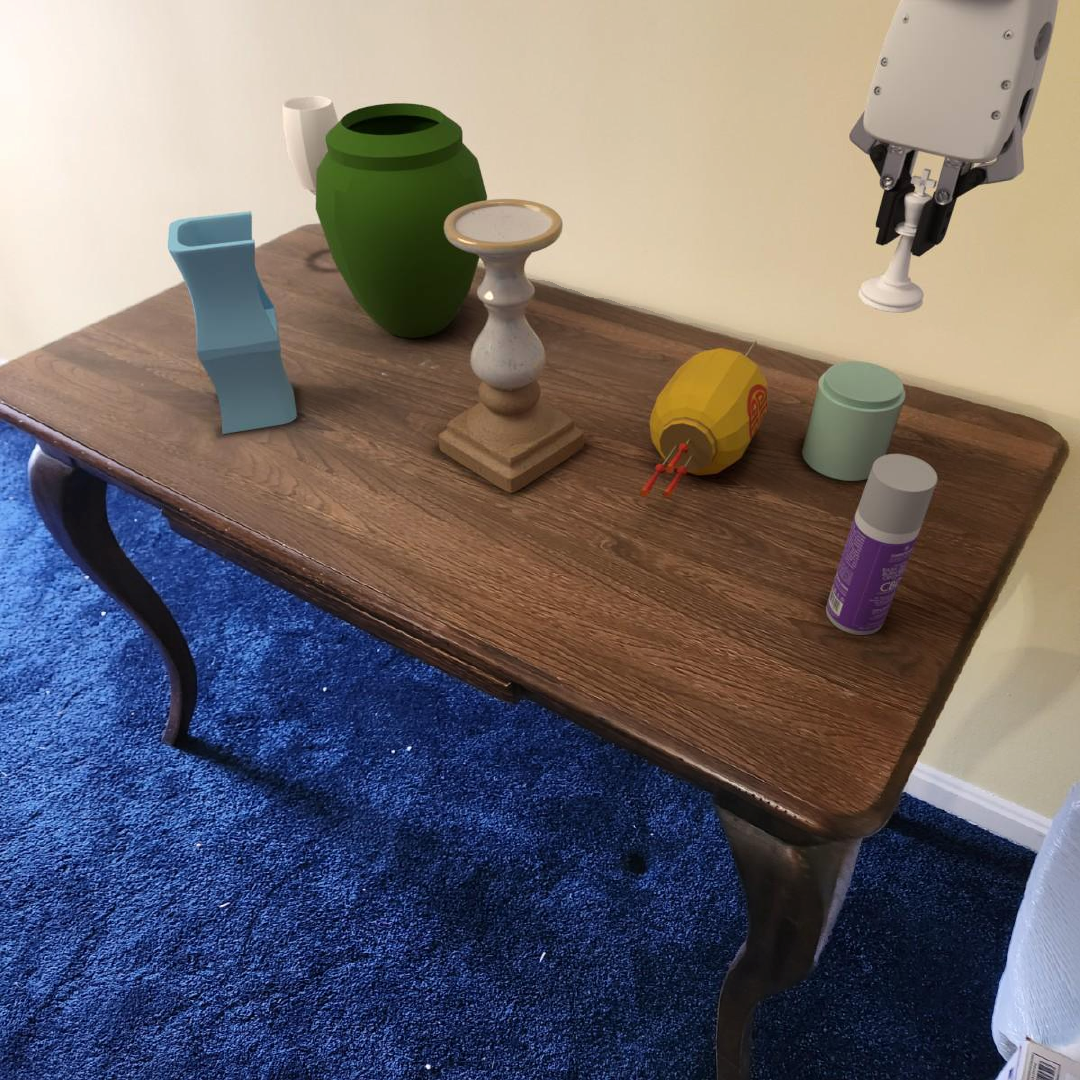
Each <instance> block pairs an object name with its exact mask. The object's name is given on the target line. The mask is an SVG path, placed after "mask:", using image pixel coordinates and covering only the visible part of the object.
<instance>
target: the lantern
mask: <svg viewBox="0 0 1080 1080" xmlns="http://www.w3.org/2000/svg"><path fill="white" fill-rule="evenodd" d="M757 344H758V342H757V340H755V341H754V342H753V343H752V345H751V346H750V347H749V349H748V351H747V352H746V354H745V355H744V354H743V353H742V352H740V351H735V350H731V349H727V348H722V347H718V348H713V349H709V350H704V351H700V352H699V353H696V354H694V355H693V356H692V357H690V358H689V359H687V361H685V362H684V363H683V364H682V365H681V366H679V368H677V370H676V372H675V373H674V374H673V375H672V377H671V378H670V379H669V381H668V382H667V384H665V386H664V388H663V389H662V390H661V391H660V392H659V394H658V395H657V396H656V400H655V403H654V406H653V408H652V411H651V413H650V418H649V423H648V425H649V431H650V438H651V442H652V444H653V446H654V447H655V449H656V450H657V451H658V453H659V455H660V456H661V458H662V459H664V462H663V463H657V464H656V466H655V467H654V469H655V472H654V473H653V474H652V475H651V477H650V478H649V480H648V481H647V482H646V483H645V484H644V486H643V487H642V489H641V490H640V491H639V495H640V496H641V497H642V498H648V496H649V494H650V492H651V490H652V489H653V487H654V485H655V483H656V482H657V480H658V478H659V476H660V475H661V474H665V473H668V474H673V473H674V471H675V469H676V472H677V473H676V474H675V476H674V478H673V479H672V481H670V483H669V484H668V485H667V486H666V488H665V490H663V493H662V496H663V497H664V498H666V499H670V498H671V496H672V494H673V493H674V491H675V490H676V487H677V485H678V483H679V482H680V480H681V478H682V477H683V476H686V475H687V474H688V473H689V474H692V475H695V476H706V475H716V474H719V473H720V472H722V471H723V470H725V469H726V468H728V467H730V466H731V465H733V464H735V463H736V462H737V461H739V460H740V459H741V458H742V457H743V455H744V453H745V452H746V450H747V448H748V446H749V444H750V443H751V441H752V439H753V438H754V436H755V434H756V433H757V430H758V429H759V427H760V426H761V423H762V421H763V419H764V418H765V415H766V413H767V412H768V409H769V393H768V392H769V391H768V381H767V379H766V377H765V376H764V374H763V373H762V371H761V369H760V367H759V365H758V364H757V363H755V362H754V361H753V360H752V359H750V358H749V355H750V354H751V353H752V351H753V350H754V348H755V347H756V345H757ZM666 462H668V464H667V465H665V464H666Z"/></svg>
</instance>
